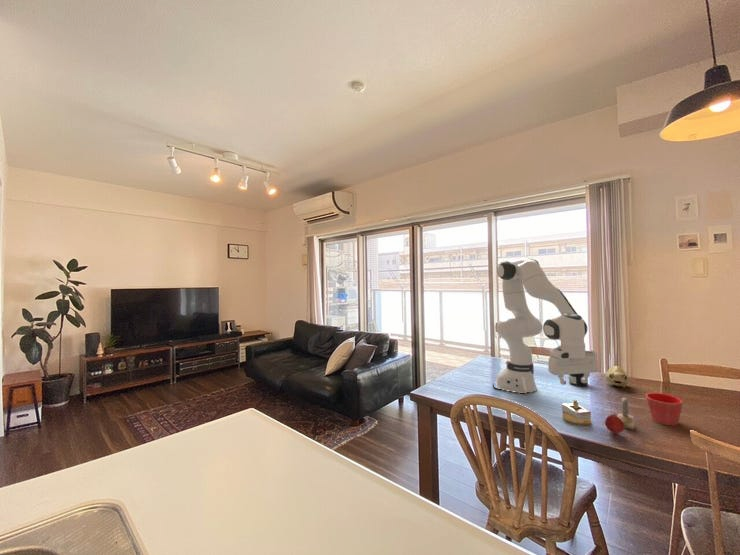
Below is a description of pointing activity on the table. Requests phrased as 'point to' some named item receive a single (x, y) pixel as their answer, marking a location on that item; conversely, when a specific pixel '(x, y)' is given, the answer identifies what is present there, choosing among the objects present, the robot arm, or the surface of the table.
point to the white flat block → (576, 411)
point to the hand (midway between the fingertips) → (573, 383)
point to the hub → (572, 420)
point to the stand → (626, 415)
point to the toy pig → (617, 376)
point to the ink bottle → (577, 379)
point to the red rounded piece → (614, 424)
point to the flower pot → (664, 408)
